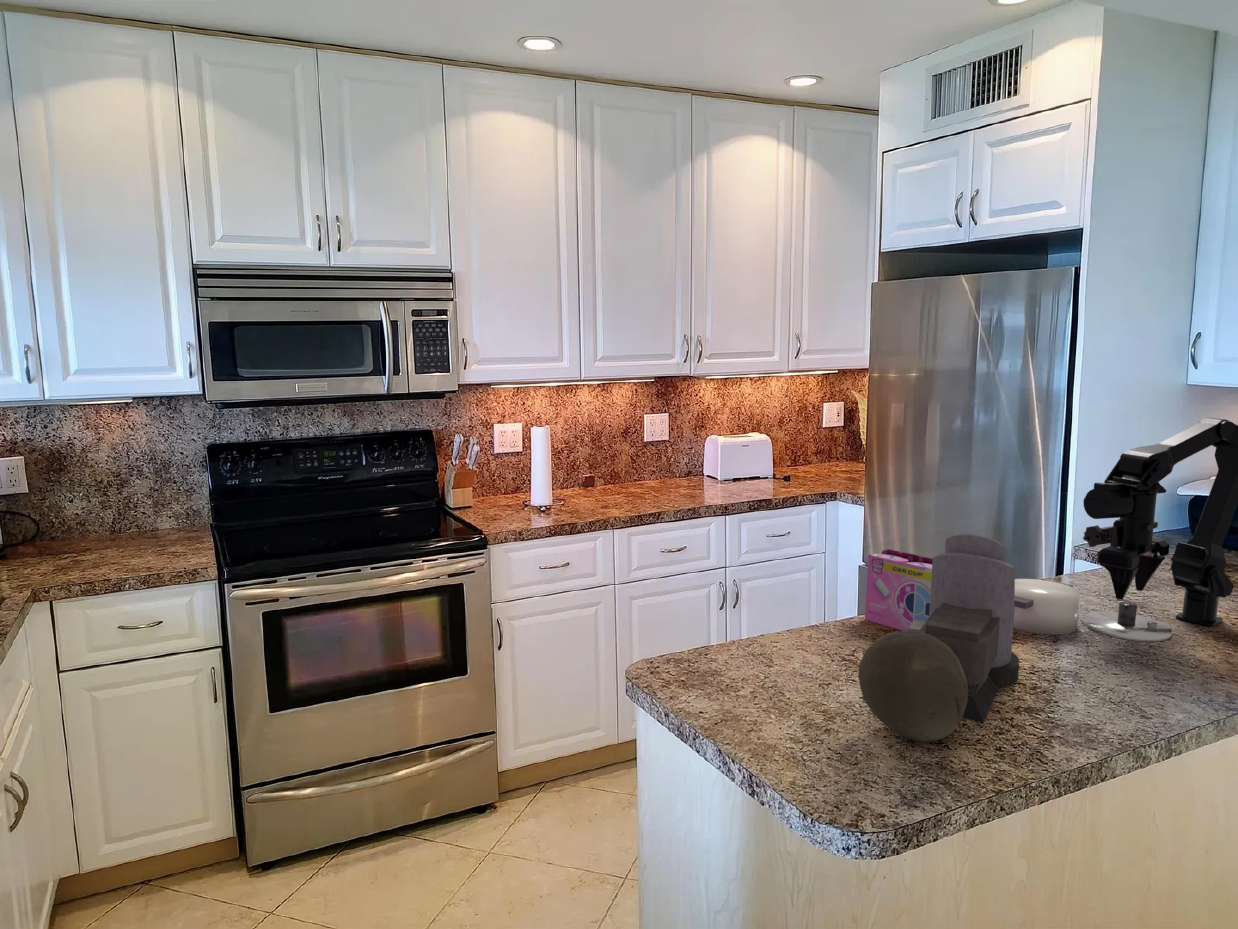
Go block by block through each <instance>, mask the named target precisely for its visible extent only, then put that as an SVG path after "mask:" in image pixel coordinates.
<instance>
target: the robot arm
mask: <svg viewBox="0 0 1238 929" xmlns="http://www.w3.org/2000/svg"><path fill="white" fill-rule="evenodd" d="M1211 446H1212V447H1214V448H1215V451H1214V459H1215V463H1216V466H1217V469H1218V470H1217V473H1216V476H1215V478H1214V480H1213V484H1212V487H1211V488H1210V489H1211V490H1209V494H1208V497H1207V498H1206V502H1205V505H1204V506H1203V510H1202V513H1201V516H1200V518H1199V520H1198V524H1197V526H1196V529H1195V531H1194V534H1193V536H1192V538H1190V539H1189V540H1188V541H1186V542H1181V541H1179V542H1178V543H1177V544H1176V545H1175V549H1174V550H1175V551H1174V553H1173V555H1172V556H1171V558H1170V561H1171V564H1170V570H1171V572H1172V577H1173V578H1172V579H1173V583H1174V586H1177V587H1182V588H1184V595H1183V603H1182V604H1183V606H1182V612H1180V613H1178V614H1176V615H1175V618H1174V619H1177V620H1181V621H1185V622H1189V623H1190V622H1191V623H1195V624H1200V625H1204V626H1207V627H1214V626H1215V625H1218V624H1219V623H1221V622H1223V621H1224V620H1223V619H1224V618H1223V617H1218V609H1219V607H1218V606H1219V601H1220V600H1219V598H1227V597H1228V596H1231V595H1232V593H1233V590H1234V587H1235V585H1234V583H1233V582H1232V581H1231V579H1230V578H1229V576H1228V575H1227V573H1225V568H1226V564H1227V559H1226V556H1225V552H1224V549H1223V546H1224V545H1223V544H1224V541H1225V539H1226V537H1227V534H1228V531H1229V529H1230V526H1231V523H1232V521H1233V518H1234V516H1235V513H1236V510H1237V507H1238V424H1236V423H1234V422H1232V421H1230V420H1228V419H1225V418H1223V419H1222V418H1214V417H1205V418H1203V419H1201V420H1200V421H1199V422H1198V423H1196V424H1194V425H1193V426H1192V425H1191V426H1190V427H1188V428H1186V429H1185V430H1182V431H1179V432H1178V433H1177V434H1174V435H1172V436H1170V437H1169V438H1167V439H1165V440H1163V441H1160V442H1158V443H1156V444H1151V445H1143V446H1138V447H1134V448H1131V449H1127V450H1125V451H1124V452H1122V453H1121V455H1120V457H1119V459H1118V460H1117V462H1116V463H1115V465H1114V466H1113V468H1112V469H1111V471H1110V472H1109V474H1108V475H1107V476H1106V478H1105V479H1104V482H1094V483H1093V488H1092V489H1090V490H1089V491H1088V492H1087V493H1086V494H1085V496H1084V498H1083V509H1084V510H1085V513H1086V514H1087V516H1088V517H1090V518H1091V519H1093V520H1102V519H1115V521H1113V524H1112V525H1111V526H1105V527H1100V526H1099V525H1097V524H1096V525H1093V526H1087V527H1086V528H1085V529H1086V530H1085V531H1084V532H1083V534H1084V535H1083V537H1082V539H1083V541H1084V542H1085V541H1086V542H1087V544H1088V547H1089V548H1092V547H1093V548H1095V547H1096V546H1100V545H1107V544H1109V546H1107V547H1104V548H1101V549H1100V550H1099V551H1097V552H1096V561H1095V562H1096V563H1098V564H1099V566H1101V567H1103V568H1104V569H1106V570H1107V571H1108V573H1109V575H1110V578H1111V582H1112V586H1113V591H1114V595H1115V598H1116V599H1118V600H1120V601H1121V600H1124V598H1125V596H1126V594H1127V592H1128V591H1129V589H1130V586H1131V585H1132V583H1133V580H1134V583H1135V590H1136V591H1140V592H1142V591H1143V590H1144V589H1145V587H1146V586H1147V585H1148V583H1149V582H1150V580H1151V579H1152V577H1153V576H1154V574H1155V573H1156V571H1157V569H1158V568H1159V567H1160V566H1161V564H1162V562H1163V561H1164V560H1165V559H1166V556H1168V555H1170V544H1169V543H1168V542H1167V541H1166V539H1162V538H1155V537H1153V536H1154V529H1157V528H1158V526H1159V525H1158V524H1159V522H1158V521H1155V516H1156V506H1157V495H1158V494H1166V493H1167V489H1166V488H1165V487H1164V486H1162V484H1160V482H1161V481H1162V480H1164V479H1165V478H1166V477H1167V476H1168V475H1170V474H1172V472H1173V470H1174V469H1173V468H1174V466H1175V465H1176V464H1178V463H1180V462H1182V461H1184V460H1186V459H1187V458H1189V457H1191V456H1193V455H1195V454H1197V453H1199V452H1201V451H1203V450H1206V449H1207V448H1209V447H1211ZM1158 554H1159V555H1158Z"/></svg>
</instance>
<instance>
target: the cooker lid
mask: <svg viewBox="0 0 1238 929" xmlns="http://www.w3.org/2000/svg"><path fill="white" fill-rule="evenodd" d="M1137 610H1138V605H1137V604H1136V603H1134V602H1130V601H1120V602H1119V603H1118V612H1115V611H1094V612H1093V611H1092V612H1088V613H1086V614H1084V615H1082V621H1081V622H1082V624H1083V626H1085V627H1086V626H1087V627H1088V628H1087V627H1086V628H1087V629H1089V628H1090V630H1091V629H1092V630H1091V631H1093V630H1094V631H1093V632H1096V633H1098V632H1100V633H1099V634H1101V633H1103V634H1102V635H1104V634H1105V635H1106V636H1108V637H1112V638H1117V639H1121V638H1122V640H1128V641H1135V642H1136V641H1137V642H1161V641H1162V642H1163V641H1166V640H1168V639H1170V638H1171V637H1172V628H1171V627H1170V626H1168V624H1167V625H1166V624H1164V623H1163V622H1160V621H1158V620H1156V619H1152V618H1150V617H1145V616H1141V615H1138V614H1137V612H1138V611H1137Z"/></svg>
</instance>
